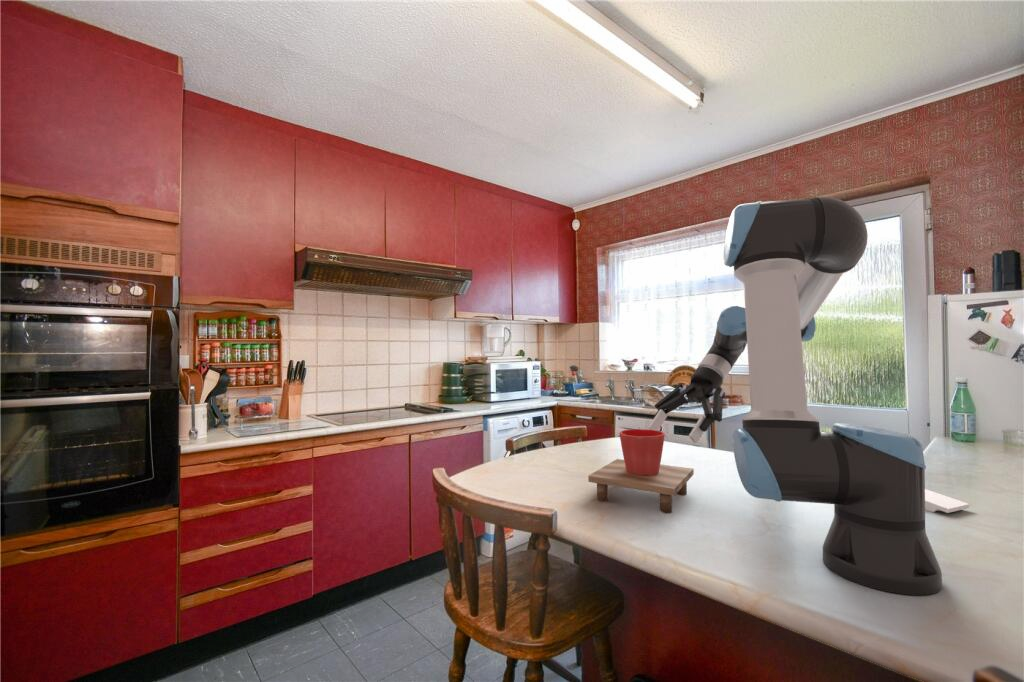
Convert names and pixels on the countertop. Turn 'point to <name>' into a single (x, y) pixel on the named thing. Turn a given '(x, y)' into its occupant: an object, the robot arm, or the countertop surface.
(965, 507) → the wall bracket
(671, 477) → the walnut stool
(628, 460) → the flower pot
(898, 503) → the robot arm
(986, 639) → the countertop surface
